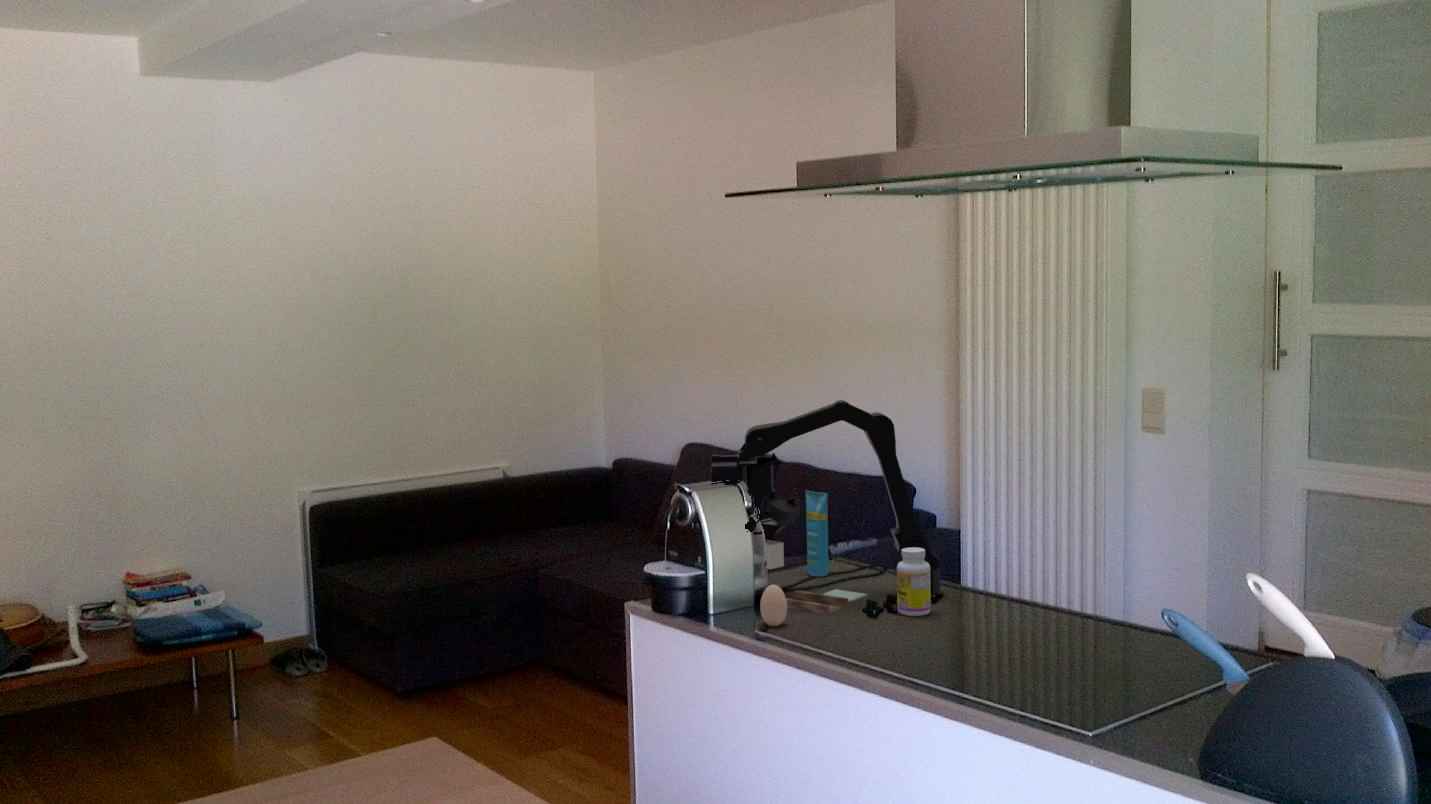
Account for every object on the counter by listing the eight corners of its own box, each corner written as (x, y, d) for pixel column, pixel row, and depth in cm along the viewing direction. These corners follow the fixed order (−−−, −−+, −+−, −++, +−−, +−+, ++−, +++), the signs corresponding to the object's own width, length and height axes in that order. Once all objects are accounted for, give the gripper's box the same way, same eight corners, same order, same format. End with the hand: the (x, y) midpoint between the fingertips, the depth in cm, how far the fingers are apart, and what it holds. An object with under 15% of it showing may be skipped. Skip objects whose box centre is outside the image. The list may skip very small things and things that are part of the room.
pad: (867, 596, 267) (866, 594, 267) (845, 604, 261) (845, 601, 261) (835, 592, 272) (835, 589, 272) (814, 599, 266) (814, 596, 266)
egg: (758, 623, 247) (757, 582, 247) (784, 622, 248) (783, 580, 248) (763, 630, 242) (762, 588, 242) (790, 628, 243) (789, 586, 242)
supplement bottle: (893, 609, 256) (892, 547, 255) (925, 607, 256) (924, 545, 255) (902, 617, 249) (901, 553, 248) (935, 616, 250) (934, 552, 249)
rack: (848, 607, 258) (848, 598, 258) (826, 616, 252) (826, 606, 252) (797, 599, 266) (796, 590, 266) (774, 607, 260) (774, 597, 260)
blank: (783, 566, 264) (783, 542, 264) (769, 569, 261) (769, 545, 261) (764, 562, 269) (763, 539, 268) (750, 565, 266) (749, 541, 266)
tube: (799, 574, 291) (797, 491, 289) (813, 570, 294) (812, 488, 292) (823, 578, 285) (821, 494, 284) (837, 575, 289) (836, 491, 287)
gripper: (763, 495, 253) (764, 572, 254) (816, 483, 267) (818, 556, 268) (720, 491, 260) (721, 565, 261) (774, 479, 274) (776, 550, 275)
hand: (761, 559), depth 266 cm, fingers closed on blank, 4 cm apart
